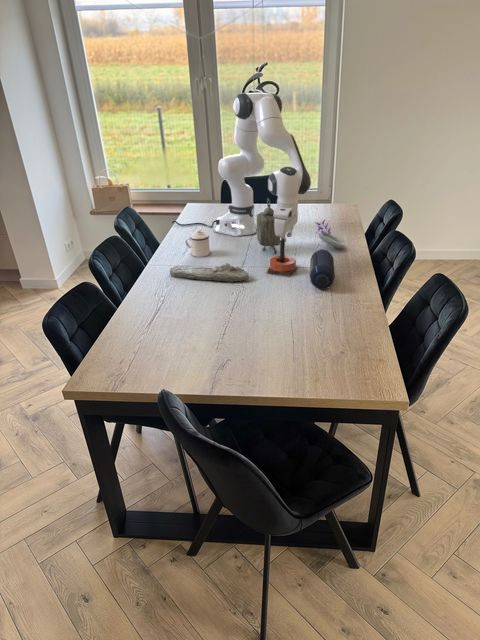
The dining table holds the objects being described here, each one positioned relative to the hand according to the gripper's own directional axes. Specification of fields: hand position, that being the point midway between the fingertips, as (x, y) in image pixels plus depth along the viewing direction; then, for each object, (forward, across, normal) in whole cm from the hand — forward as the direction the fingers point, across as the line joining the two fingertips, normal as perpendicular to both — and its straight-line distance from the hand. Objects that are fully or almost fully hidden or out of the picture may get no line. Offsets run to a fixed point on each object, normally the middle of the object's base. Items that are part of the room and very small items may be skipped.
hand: (286, 239), depth 213 cm
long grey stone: (+12, +24, -27) cm, 38 cm away
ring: (+11, +5, 0) cm, 12 cm away
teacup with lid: (+14, 0, -45) cm, 47 cm away
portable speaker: (+12, +9, +19) cm, 24 cm away
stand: (+12, +6, 0) cm, 14 cm away
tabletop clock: (+13, -15, -14) cm, 25 cm away
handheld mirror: (+14, -37, +10) cm, 41 cm away
